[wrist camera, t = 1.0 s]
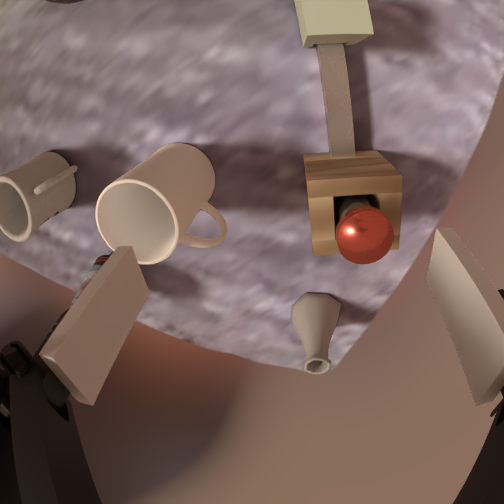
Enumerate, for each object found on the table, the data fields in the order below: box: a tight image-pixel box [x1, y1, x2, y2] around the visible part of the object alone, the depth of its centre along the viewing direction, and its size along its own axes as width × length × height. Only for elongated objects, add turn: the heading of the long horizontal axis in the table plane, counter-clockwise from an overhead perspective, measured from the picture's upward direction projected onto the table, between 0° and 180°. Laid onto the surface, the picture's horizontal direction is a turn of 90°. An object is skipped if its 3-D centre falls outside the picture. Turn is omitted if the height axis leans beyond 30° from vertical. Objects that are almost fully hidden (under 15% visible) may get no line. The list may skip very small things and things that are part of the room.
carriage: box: [294, 0, 374, 48], centre depth 19 cm, size 6×5×8 cm
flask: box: [291, 293, 341, 374], centre depth 38 cm, size 7×7×10 cm
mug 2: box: [96, 143, 227, 264], centre depth 30 cm, size 12×8×12 cm
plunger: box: [336, 194, 394, 264], centre depth 25 cm, size 4×4×7 cm
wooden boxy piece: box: [303, 150, 403, 256], centre depth 29 cm, size 7×8×9 cm
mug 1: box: [0, 152, 78, 242], centre depth 32 cm, size 12×9×10 cm
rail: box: [315, 43, 355, 158], centre depth 24 cm, size 19×5×4 cm, turn 9°
